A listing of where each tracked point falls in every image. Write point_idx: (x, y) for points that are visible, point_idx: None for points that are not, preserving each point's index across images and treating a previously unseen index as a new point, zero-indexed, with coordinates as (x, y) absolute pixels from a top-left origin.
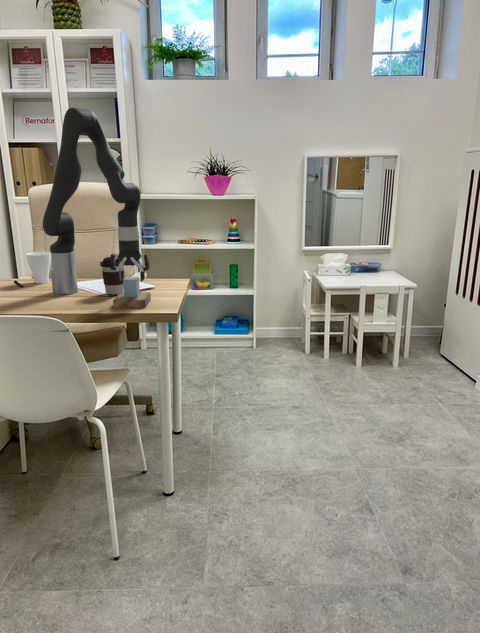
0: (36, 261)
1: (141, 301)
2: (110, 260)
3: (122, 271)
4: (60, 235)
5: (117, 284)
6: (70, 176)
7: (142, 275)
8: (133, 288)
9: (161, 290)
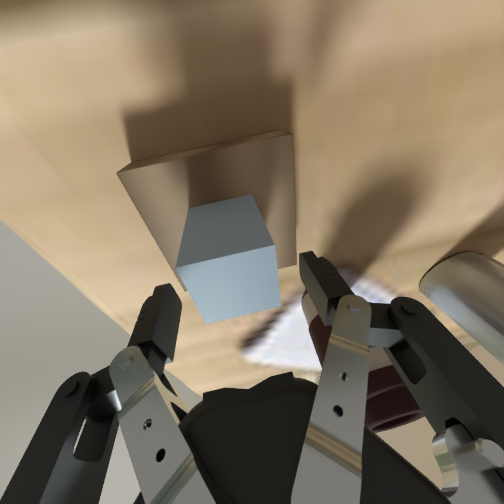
0: None
1: (140, 165)
2: (403, 406)
3: None
4: None
5: None
6: None
7: (147, 321)
8: (203, 227)
9: (211, 342)
